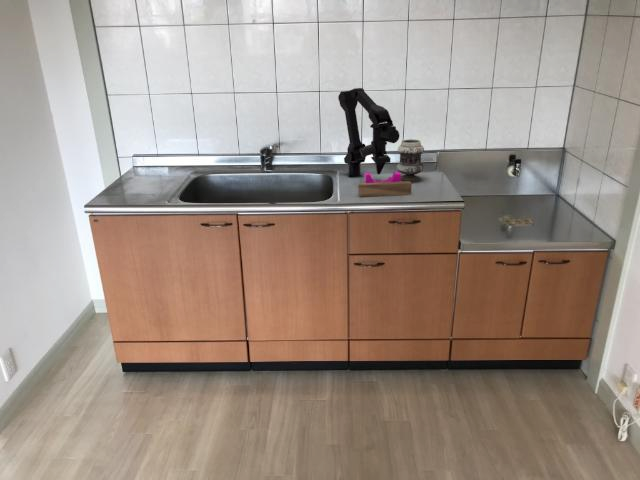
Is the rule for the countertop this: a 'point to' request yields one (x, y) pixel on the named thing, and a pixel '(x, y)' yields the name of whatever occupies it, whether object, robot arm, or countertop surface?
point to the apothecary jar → (410, 159)
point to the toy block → (394, 178)
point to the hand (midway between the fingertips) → (378, 174)
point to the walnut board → (384, 189)
